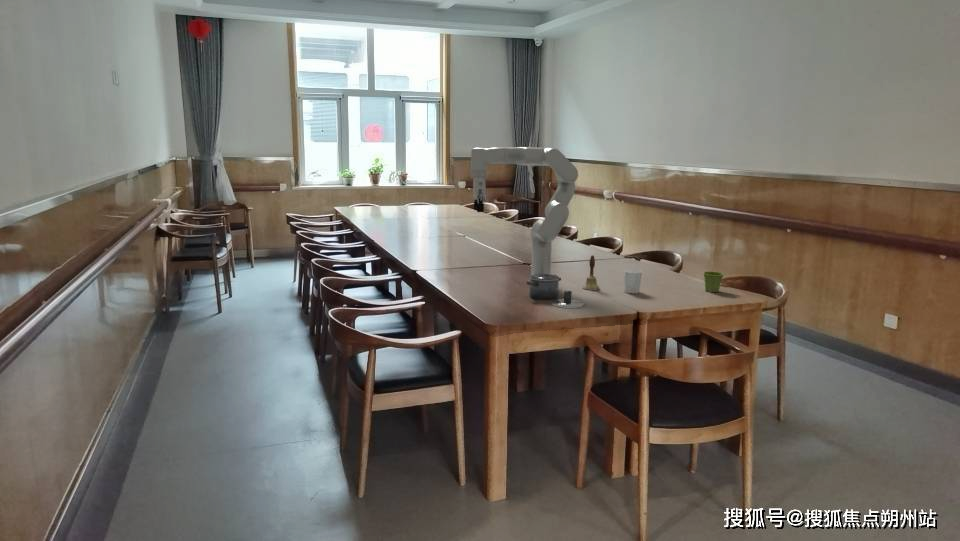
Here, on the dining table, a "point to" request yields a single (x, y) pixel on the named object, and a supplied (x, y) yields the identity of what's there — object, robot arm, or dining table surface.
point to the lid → (567, 301)
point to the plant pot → (712, 281)
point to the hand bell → (591, 277)
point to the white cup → (632, 281)
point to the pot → (543, 286)
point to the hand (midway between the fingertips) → (478, 210)
